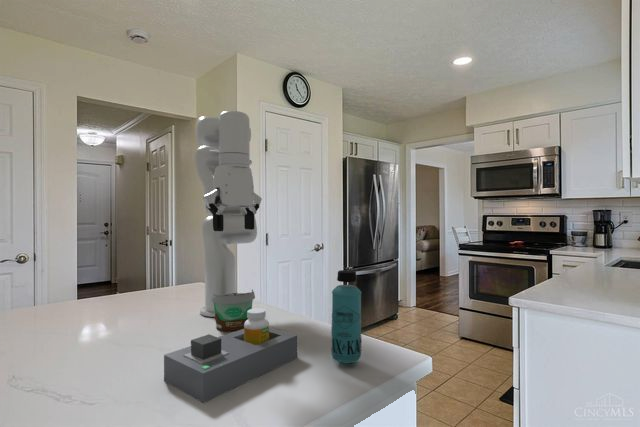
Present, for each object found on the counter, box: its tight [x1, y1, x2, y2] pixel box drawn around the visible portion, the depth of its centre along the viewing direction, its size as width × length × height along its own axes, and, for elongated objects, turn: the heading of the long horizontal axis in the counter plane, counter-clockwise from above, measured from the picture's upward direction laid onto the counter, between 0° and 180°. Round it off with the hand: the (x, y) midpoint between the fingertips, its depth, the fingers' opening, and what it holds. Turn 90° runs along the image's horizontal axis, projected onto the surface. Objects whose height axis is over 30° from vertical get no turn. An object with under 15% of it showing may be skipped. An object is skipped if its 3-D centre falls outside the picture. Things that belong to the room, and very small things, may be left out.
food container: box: [211, 289, 256, 333], centre depth 99 cm, size 12×6×10 cm, turn 117°
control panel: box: [163, 326, 298, 404], centre depth 74 cm, size 24×13×8 cm, turn 142°
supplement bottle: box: [244, 307, 270, 345], centre depth 79 cm, size 5×5×10 cm
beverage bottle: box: [330, 269, 363, 364], centre depth 76 cm, size 6×7×20 cm
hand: (234, 230), depth 90 cm, fingers open, 9 cm apart
